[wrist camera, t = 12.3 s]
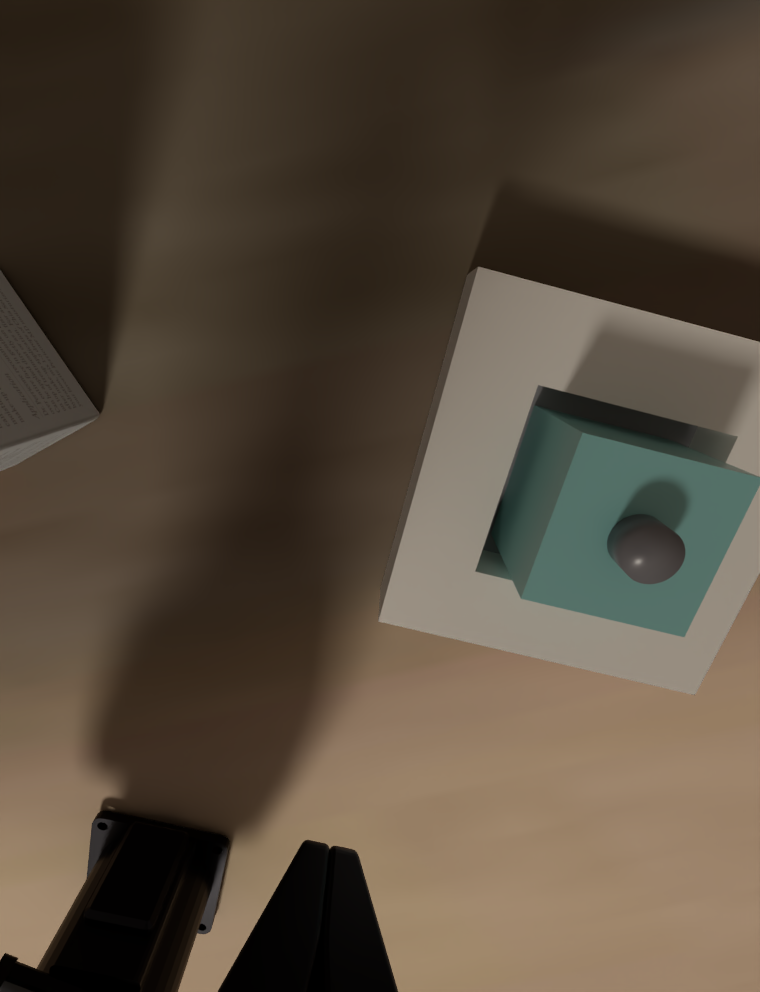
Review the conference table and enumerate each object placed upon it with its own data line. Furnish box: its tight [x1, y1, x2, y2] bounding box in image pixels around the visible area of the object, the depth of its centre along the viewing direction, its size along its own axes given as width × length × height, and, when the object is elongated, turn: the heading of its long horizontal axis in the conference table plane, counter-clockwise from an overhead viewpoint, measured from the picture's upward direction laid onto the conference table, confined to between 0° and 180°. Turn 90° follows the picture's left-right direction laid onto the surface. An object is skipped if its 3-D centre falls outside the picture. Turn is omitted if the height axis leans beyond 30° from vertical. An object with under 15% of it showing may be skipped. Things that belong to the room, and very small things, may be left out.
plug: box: [491, 405, 760, 637], centre depth 16 cm, size 5×5×6 cm
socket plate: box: [378, 267, 760, 695], centre depth 18 cm, size 12×12×2 cm
